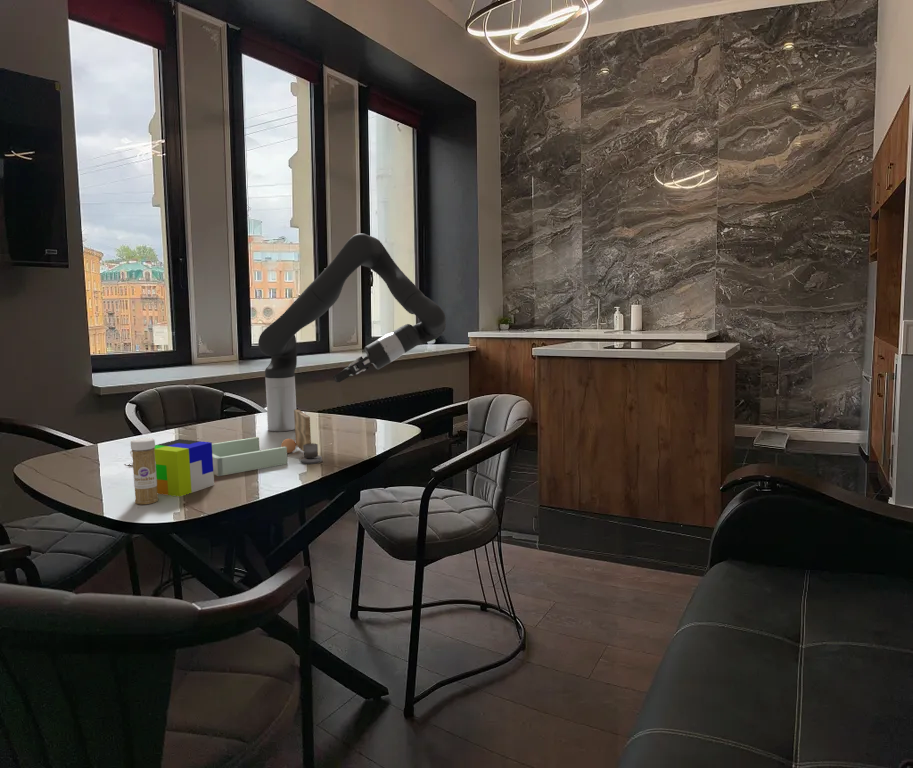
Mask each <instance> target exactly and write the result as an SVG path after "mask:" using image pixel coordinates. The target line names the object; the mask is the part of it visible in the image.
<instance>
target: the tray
mask: <svg viewBox="0 0 913 768" xmlns="http://www.w3.org/2000/svg"><path fill="white" fill-rule="evenodd" d="M212 456H213V473H214V476H217V477H221V476H226V475H227V476H228V475H232V474H238V473H242V472H243V473H245V472H248V471H250V472H251V471H254V470H259V469H265V468H270V467H271V468H272V467H277V466H283V465H287V464H288V453H287V447H281V446H280V447H273V448H267V449H261V450H260V437H258V436H255V437H249V438H248V437H247V438H243V439H234V440H229V441H221V442H215V443H212Z"/></svg>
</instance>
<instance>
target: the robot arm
mask: <svg viewBox="0 0 913 768" xmlns="http://www.w3.org/2000/svg"><path fill="white" fill-rule="evenodd" d="M360 267H366V268H369V270H371V271H373V272H374V273H376V274H377V275H378V276H379V277H380V278H381V279H382V280H383V281H384V283H385V284H386V286H387V288H388V290H389V292H390V294H391V295H392V296H393V298H394V299H395V300H396V301H397V303H399V305H400V306H402V308H403V309H404V310H405V311H406V312H407V313H408V314H411V315H415V316H416V318H418V319H419V320H420V322H418V323H416V324H413V325H411V324H409V323H407V324H405V325H402V326H400V327H399V328H396V329H395V330H394V331H392V332H389V333H386V334H385V335H382V336H381V337H379V338H378V339H376V340H375V341H373V342H371V343H369V344H367V345H366V346H365V347H364V351H365V354H366V356H365V357H363V356H359V357H358V358H356V359H355V360H354V361H352V362H350V363H349V364H348V366H346V367H344V369H343V370H341V371H339V372H338V373H336V374H334V375H333V376H332V378H333V380H334V381H335V383H340V382H343V381H344V380H346V379H348V378H349V377H351V376H352V377H353V376H355V375H358V374H360V373H361V372H365V371H367V370H368V369H369V366H371V365H373V367H374V368H375V369H376V370H380V369H382V368H384V367H385V366H387V365H389V364H390V363H392V362H394V361H396V360H398V359H399V358H400V357H401V356H403V355H404V354H406V353H408V352H409V351H410V350H412V349H414V348H416V347H417V346H420V345H424V344H426V343H429V342H432V341H434V340H436V339H438V338H439V337H441V336H442V335H443V334H444V333H445V330H446V322H447V321H446V314H445V312H444V310H443V309H442V308H441V306H439V304H437V303H436V302H435V301H433V300H432V299H430V298H429V297H427V296H425V294H424V293H423V292H422V291H421V290H420V289H419V288H418V286H417V285H416V284H415V283H413V281H412V280H410V278H409V277H408V276H407V275H406V274H405V273H404V272H403V270H401V269H400V268H399V266H398V265H397V263H396V262H395V261H394V259H393V258H392V256H391V255H390V253H389V252H388V250H387V249H386V247H385V246H384V244H383V243H382V242H381V241H380V240H379V239H378V238H376V237H374V236H372V235H368V234H366V233H356V234H354V235H352V236H351V237H350V238H348V240H347V242H345V244H344V245H343V246H342V248H341V249H340V250H339V252H338V253H337V254H336V255H335V257H334V259H333V260H331V262H330V263H329V265H327V266H326V268H324V269H323V271H322V272H321V273H319V275H318V276H317V277H316V278H315V279H314V280H313V281H312V282H311V283H310V284H309V285H308V286H307V287H306V288H305V289H304V290H303V291H302V293H300V295H299V296H298V297H297V298H296V299H295V300H294V301H293V302H292V304H291V305H290V306H288V308H287V309H286V310H285V311H284V312H283V313H282V314H281V315H280V316H279V317H278V318H277V319H276V320H275V321H273V322H272V323H271V324H269V326H267V327H266V328H265V329H263V331H262V332H261V333H260V335H259V337H258V348H259V351H260V352H261V353H262V354H263V355H265V356H268V357H271V358H270V362H269V364H268V365H267V366H266V368H265V369H264V374H265V375H264V376H265V377H264V379H265V397H266V415H267V417H266V418H267V419H266V420H267V430H268V431H270V432H288V431H295V420H294V410H297V397H296V395H297V394H296V375H295V374H296V373H295V372H296V369H297V359H298V358H297V357H298V356H297V355H298V354H297V353H298V349H297V346H298V345H297V337H296V335H297V333H298V332H299V331H300V330H302V329H303V328H305V327H306V326H308V325H309V324H312V323H313V322H314V321H316V320H317V319H319V318H321V317H322V316H323V315H325V313H327V312H328V311H329V309H330V308H331V307H332V306H334V304H335V303H336V302H337V301H338V300H339V298H340V295H341V292H342V289H343V287H344V285H345V282H346V280H347V279H348V278H349V277H350V276H351V275H352V274H353V273H354V272H355V271H356V270H357V269H358V268H360Z"/></svg>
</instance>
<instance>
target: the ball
mask: <svg viewBox="0 0 913 768" xmlns="http://www.w3.org/2000/svg"><path fill="white" fill-rule="evenodd" d="M280 447H287V454H291V453H294V452H295V450H296V448H297V446H296V442H295V440H294V439H293V438H285V439H284V440H282V442H281V445H280Z"/></svg>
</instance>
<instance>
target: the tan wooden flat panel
mask: <svg viewBox="0 0 913 768" xmlns="http://www.w3.org/2000/svg"><path fill="white" fill-rule="evenodd" d="M294 420H295V429H294V438H295V440H294V441H295V443H296V448H298V449H300V450H301V451H302V452H303V456H304V457H305V458H314V457H317V456H319V449H318V446H319V445H318V444H317V443H314V442H313V443H312V438H311V434H312V433H311V417H310V416H309V415H307V414H306V413H304V411H302V410H300V409H299V408H298V409H297V408H296V410H294Z"/></svg>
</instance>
